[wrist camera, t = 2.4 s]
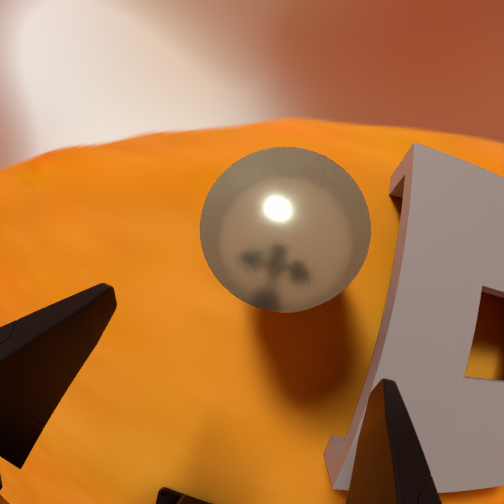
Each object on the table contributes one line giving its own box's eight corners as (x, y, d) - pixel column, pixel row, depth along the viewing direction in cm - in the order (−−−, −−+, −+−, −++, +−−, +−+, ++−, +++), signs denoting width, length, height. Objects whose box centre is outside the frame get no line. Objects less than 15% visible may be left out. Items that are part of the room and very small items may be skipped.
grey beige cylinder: (322, 323, 19) (350, 330, 11) (225, 298, 20) (179, 285, 12) (344, 227, 20) (380, 168, 12) (251, 205, 21) (227, 135, 13)
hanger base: (494, 460, 15) (525, 480, 10) (323, 453, 17) (332, 488, 13) (541, 233, 18) (576, 217, 13) (391, 176, 21) (414, 142, 16)
